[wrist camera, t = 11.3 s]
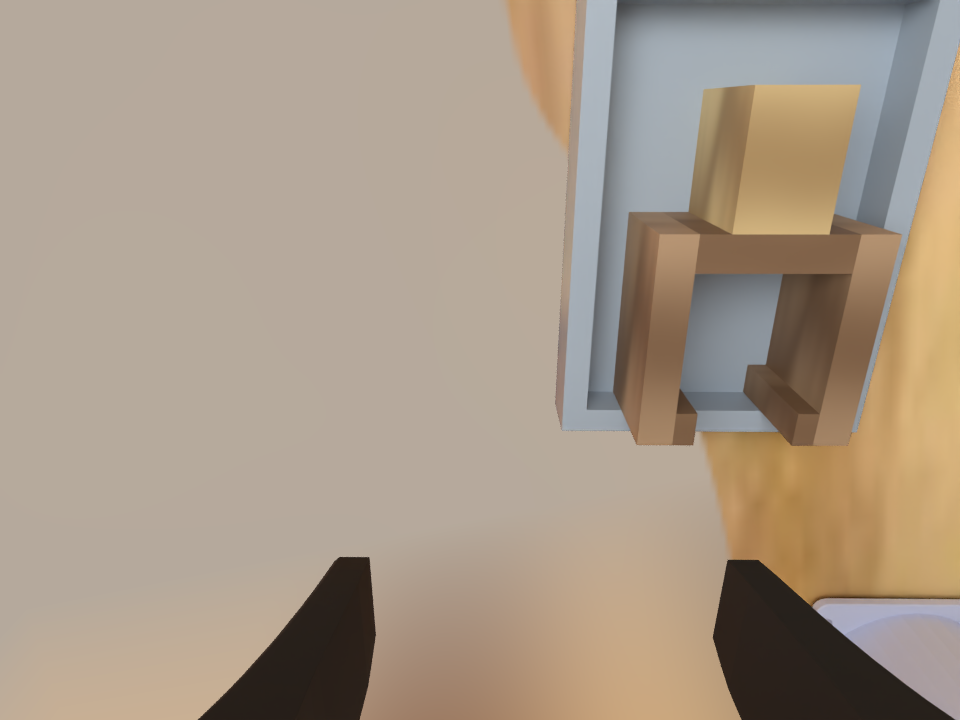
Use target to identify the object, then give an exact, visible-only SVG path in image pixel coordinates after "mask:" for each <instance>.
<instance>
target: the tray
mask: <svg viewBox="0 0 960 720" xmlns="http://www.w3.org/2000/svg"><path fill="white" fill-rule="evenodd" d="M959 43H960V0H577V3H576V22H575V41H574V60H573V79H572V98H571V117H570V135H569V154H568V174H567V193H566V211H565V230H564V249H563V268H562V286H561V306H560V324H559V325H560V326H559V343H558V363H557V382H556V400H555V404H556V408H557V413H558V417H559V421H560V425H561V430H562V431H630V428H629V426H628V424H627V422H626V420H625V417H624V415H623V413H622V411H621V408H620V406H619V404H618V402H617V400H616V397H615V395H614V393H613V385H614V373H615V362H616V351H617V339H618V328H619V317H620V305H621V294H622V283H623V272H624V260H625V249H626V238H627V226H628V215H629V212H688V211H689V203H690V195H691V187H692V179H693V171H694V163H695V155H696V146H697V138H698V130H699V122H700V114H701V106H702V98H703V90H704V89H713V88H724V87H736V86H747V85H861V88H860V93H859V98H858V102H857V107H856V112H855V116H854V121H853V126H852V131H851V135H850V140H849V145H848V149H847V154H846V159H845V163H844V168H843V173H842V178H841V182H840V187H839V192H838V196H837V201H836V206H835V211H834V214H836V215H840V216H843V217H846V218H849V219H853V220H856V221H859V222H863V223H866V224H869V225H873V226H876V227H879V228H882V229H886V230H889V231H892V232H896V233H899V234H902V238H901V242H900V246H899V249H898V253H897V257H896V261H895V265H894V269H893V273H892V277H891V281H890V284H889V288H888V292H887V296H886V300H885V304H884V308H883V312H882V316H881V319H880V323H879V327H878V331H877V335H876V339H875V343H874V347H873V351H872V354H871V358H870V362H869V366H868V370H867V374H866V378H865V382H864V386H863V389H862V393H861V397H860V401H859V405H858V409H857V413H856V417H855V421H854V424H853V428H852V432H857V429H858V425H859V422H860V418H861V414H862V410H863V406H864V403H865V399H866V395H867V391H868V388H869V384H870V380H871V376H872V372H873V369H874V365H875V361H876V357H877V353H878V350H879V346H880V342H881V338H882V334H883V331H884V327H885V323H886V319H887V316H888V312H889V308H890V304H891V300H892V297H893V293H894V289H895V285H896V281H897V278H898V274H899V270H900V266H901V262H902V259H903V255H904V251H905V247H906V244H907V240H908V236H909V232H910V228H911V225H912V221H913V217H914V213H915V209H916V206H917V202H918V198H919V194H920V190H921V187H922V183H923V179H924V175H925V172H926V168H927V164H928V160H929V156H930V153H931V149H932V145H933V141H934V137H935V134H936V130H937V126H938V122H939V118H940V115H941V111H942V107H943V103H944V100H945V96H946V92H947V88H948V84H949V81H950V77H951V73H952V69H953V65H954V62H955V58H956V54H957V50H958V46H959ZM782 276H783V274H695V277H694V284H693V292H692V299H691V307H690V314H689V322H688V329H687V337H686V344H685V352H684V359H683V367H682V374H681V382H680V389H681V391H682V392H683V393H684V395H685V396H686V398H687V399H688V401H689V402H690V404H691V405H692V406H693V408H694V409H695V411H696V412H697V414H698V416H697V422H696V429H695V431H716V432H779V431H778V430H777V429H776V428H775V427H774V426H773V424H772V423H771V422H770V421H769V420H768V419H767V418H766V417H765V416H764V415H763V413H762V412H761V411H760V410H759V409H758V408H757V407H756V406H755V405H754V404H753V402H752V401H751V400H750V399H749V398H748V397H747V396H746V395H745V394H744V392H743V388H744V383H745V377H746V371H747V366H748V365H766V361H767V355H768V350H769V345H770V339H771V334H772V329H773V324H774V318H775V313H776V308H777V302H778V297H779V292H780V286H781V281H782Z"/></svg>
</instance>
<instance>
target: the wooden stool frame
mask: <svg viewBox="0 0 960 720" xmlns="http://www.w3.org/2000/svg"><path fill="white" fill-rule="evenodd" d="M860 88H861V85H747V86H736V87H724V88H713V89H704V90H703V98H702V106H701V114H700V122H699V130H698V138H697V146H696V155H695V163H694V171H693V179H692V187H691V195H690V203H689V211H688V212H629V215H628V226H627V238H626V249H625V260H624V272H623V283H622V294H621V305H620V317H619V328H618V339H617V351H616V362H615V373H614V385H613V393H614V395H615V397H616V400H617V402H618V404H619V406H620V408H621V411H622V413H623V415H624V417H625V420H626V422H627V424H628V426H629V428H630V431H631V433H632V435H633V437H634V440H635V442H636V444H637V445H693V442H694V436H695V429H696V422H697V416H698V414H697V412H696V411H695V409H694V408H693V406H692V405H691V404H690V402H689V401H688V399H687V398H686V396H685V395H684V393H683V392H682V391H681V389H680V382H681V374H682V367H683V359H684V352H685V344H686V337H687V329H688V322H689V314H690V307H691V299H692V292H693V284H694V277H695V274H783V276H782V281H781V286H780V292H779V297H778V302H777V308H776V313H775V318H774V324H773V329H772V334H771V339H770V345H769V350H768V355H767V361H766V365H748V366H747V371H746V377H745V383H744V388H743V392H744V394H745V395H746V396H747V397H748V398H749V399H750V400H751V401H752V402H753V404H754V405H755V406H756V407H757V408H758V409H759V410H760V411H761V412H762V413H763V415H764V416H765V417H766V418H767V419H768V420H769V421H770V422H771V423H772V424H773V426H774V427H775V428H776V429H777V430H778V431H779V432H780V433H781V434H782V435H783V437H784V438H785V439H786V440H787V441H788V442H789V443H790V444H791V445H792V446H848V444H849V440H850V436H851V432H852V428H853V424H854V421H855V417H856V413H857V409H858V405H859V401H860V397H861V393H862V389H863V386H864V382H865V378H866V374H867V370H868V366H869V362H870V358H871V354H872V351H873V347H874V343H875V339H876V335H877V331H878V327H879V323H880V319H881V316H882V312H883V308H884V304H885V300H886V296H887V292H888V288H889V284H890V281H891V277H892V273H893V269H894V265H895V261H896V257H897V253H898V249H899V246H900V242H901V238H902V234H899V233H896V232H892V231H889V230H886V229H882V228H879V227H876V226H873V225H869V224H866V223H863V222H859V221H856V220H853V219H849V218H846V217H843V216H840V215H836V214H834V211H835V206H836V201H837V196H838V192H839V187H840V182H841V178H842V173H843V168H844V163H845V159H846V154H847V149H848V145H849V140H850V135H851V131H852V126H853V121H854V116H855V112H856V107H857V102H858V98H859V93H860Z"/></svg>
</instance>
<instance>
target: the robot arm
mask: <svg viewBox="0 0 960 720" xmlns="http://www.w3.org/2000/svg"><path fill="white" fill-rule="evenodd" d="M375 636H376V632H375V620H374V608H373V596H372V583H371V572H370V559H369V557H339V558H338V559H337V560H336V561H334V563H333V564H332V566H331V567H330V568H329V570H328V571H327V573H326V574H325V576H324V577H323V578H322V580H321V581H320V583H319V584H318V585H317V587H316V588H315V590H314V591H313V592H312V593H311V595H310V596H309V597H308V599H307V600H306V601H305V602H304V604H303V605H302V607H301V608H300V609H299V610H298V612H297V613H296V614H295V615H294V616H293V618H292V619H291V620H290V621H289V623H288V624H287V625H286V626H285V628H284V629H283V630H282V631H281V632H280V634H279V635H278V636H277V637H276V639H275V640H274V641H273V642H272V643H271V644H270V645H269V647H268V648H267V649H266V650H265V651H264V652H263V653H262V654H261V656H260V657H259V658H258V659H257V660H256V661H255V662H254V663H253V664H252V666H251V667H250V668H249V669H248V670H247V671H246V672H245V674H243V675H242V677H241V678H240V679H239V680H238V681H237V682H236V683H235V684H234V685H233V686H232V687H231V688H230V689H229V690H228V691H227V692H226V693H225V694H224V695H223V696H222V697H221V698H220V699H219V700H218V701H217V702H216V703H215V704H214V705H213V706H212V707H211V708H210V709H209V710H208V711H207V712H205V713H204V714H203V716H201V717H200V718H199V719H198V720H360V716H361V711H362V708H363V704H364V700H365V696H366V692H367V688H368V683H369V677H370V670H371V664H372V657H373V650H374V643H375ZM713 640H714V643H715V646H716V650H717V653H718V657H719V660H720V663H721V667H722V670H723V673H724V676H725V679H726V683H727V686H728V689H729V691H730V694H731V696H732V699H733V701H734V703H735V706H736V708H737V710H738V712H739V715H740V717H741V719H742V720H960V599H859V598H825V599H820V600H818V601H817V602H815V603H814V605H813V606H812V607H811V606H810V605H809V604H808V603H807V602H806V601H804V600H803V599H802V598H801V597H800V596H799V595H798V594H796V593H795V592H794V591H793V590H792V589H791V588H790V587H789V586H788V585H786V584H785V583H784V582H783V581H782V580H781V579H780V578H779V577H777V576H776V575H775V574H774V573H773V572H772V571H771V570H769V569H768V568H767V567H766V566H765V565H764V564H762V563H761V562H760V561H759V560H728V561H727V566H726V571H725V577H724V582H723V587H722V592H721V597H720V603H719V608H718V613H717V618H716V624H715V629H714V634H713Z"/></svg>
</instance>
